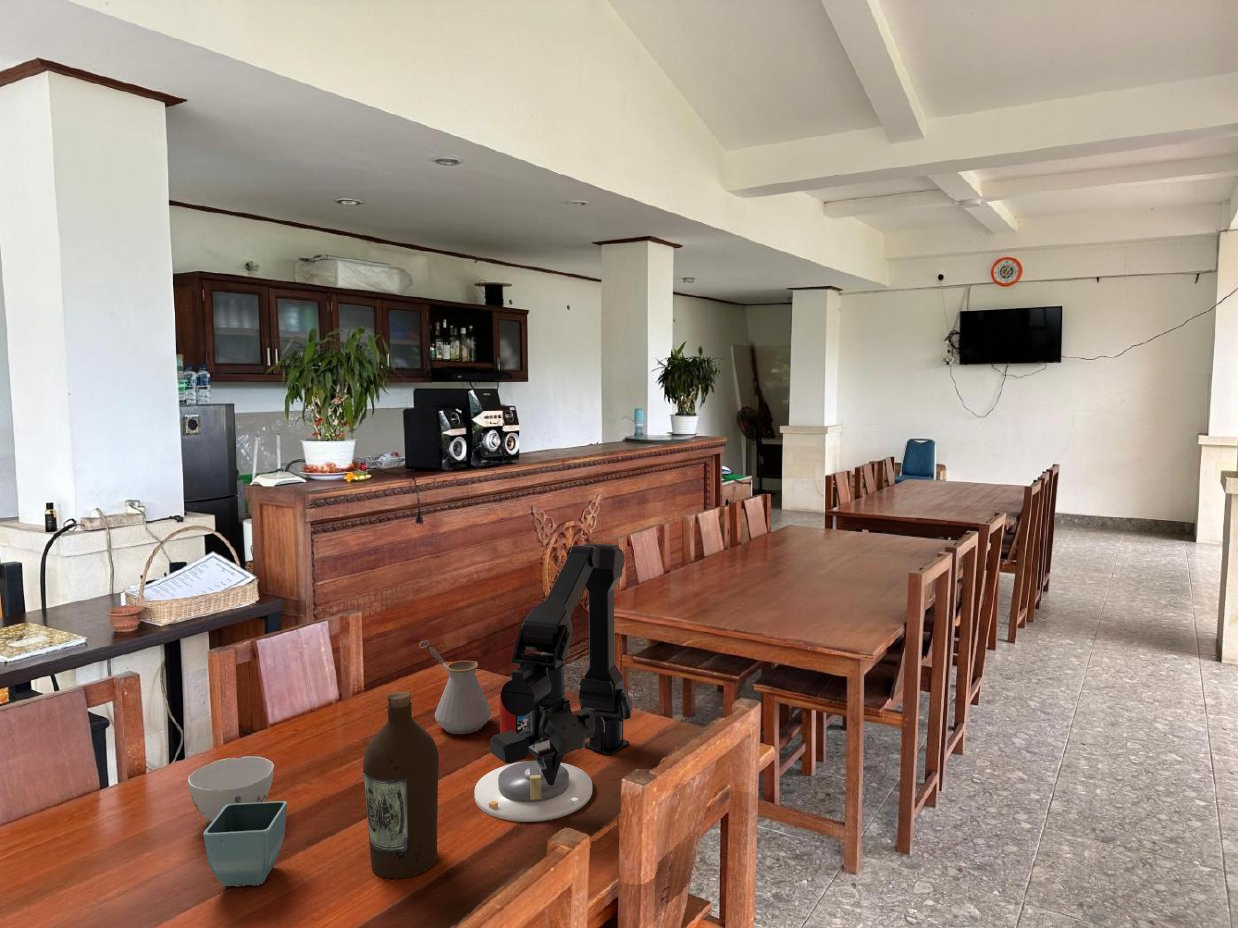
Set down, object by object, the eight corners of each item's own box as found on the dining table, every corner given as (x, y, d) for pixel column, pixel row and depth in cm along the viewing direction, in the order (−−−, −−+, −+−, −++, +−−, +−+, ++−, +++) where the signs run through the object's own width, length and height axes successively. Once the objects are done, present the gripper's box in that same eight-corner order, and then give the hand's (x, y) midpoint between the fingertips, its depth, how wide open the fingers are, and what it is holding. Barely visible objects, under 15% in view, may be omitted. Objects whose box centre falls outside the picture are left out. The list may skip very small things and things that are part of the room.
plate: (533, 756, 159) (533, 746, 158) (616, 786, 146) (616, 776, 146) (449, 796, 143) (449, 786, 143) (534, 834, 131) (534, 823, 130)
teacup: (286, 821, 135) (284, 773, 135) (201, 848, 127) (198, 797, 127) (258, 787, 147) (255, 742, 146) (178, 810, 139) (176, 763, 138)
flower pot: (228, 861, 124) (226, 802, 123) (290, 858, 125) (288, 799, 124) (204, 897, 115) (201, 833, 114) (271, 893, 116) (268, 830, 115)
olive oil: (396, 836, 130) (391, 678, 128) (455, 849, 127) (451, 687, 124) (350, 873, 121) (344, 703, 118) (413, 888, 117) (408, 713, 115)
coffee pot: (503, 727, 172) (501, 655, 171) (454, 743, 165) (452, 668, 163) (447, 699, 188) (445, 633, 187) (400, 713, 180) (398, 644, 179)
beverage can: (529, 756, 158) (528, 694, 157) (495, 753, 160) (494, 691, 159) (540, 741, 165) (539, 681, 164) (507, 739, 166) (506, 679, 165)
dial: (498, 771, 149) (497, 743, 149) (565, 766, 151) (565, 738, 151) (498, 811, 135) (497, 780, 135) (573, 805, 137) (572, 775, 137)
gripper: (520, 723, 125) (525, 823, 126) (623, 692, 136) (625, 785, 137) (486, 700, 134) (490, 794, 135) (584, 674, 145) (587, 761, 146)
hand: (550, 784), depth 138 cm, fingers closed
